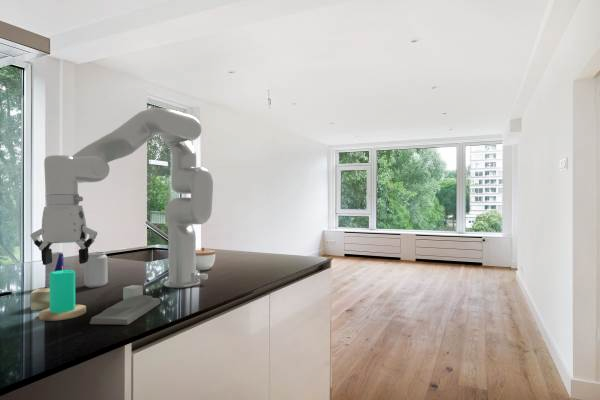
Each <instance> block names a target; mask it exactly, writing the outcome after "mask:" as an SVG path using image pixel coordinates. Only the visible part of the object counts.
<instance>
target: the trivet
mask: <svg viewBox="0 0 600 400" xmlns="http://www.w3.org/2000/svg"><path fill="white" fill-rule="evenodd" d="M86 313H87V306H86V305H83V304H76V303H75V309H74V310H72V311H69V312H63V313H51V312H50V308H48V309H41V310H40V311H39V312H38V319H39V320H40V321H45V322H51V321H52V322H55V321H64V320H70V319H74V318H78V317H80V316H83V315H84V314H86Z"/></svg>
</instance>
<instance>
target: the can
mask: <svg viewBox="0 0 600 400" xmlns="http://www.w3.org/2000/svg"><path fill="white" fill-rule="evenodd" d="M88 255H89V258H88V261H87V262H86V263H83V266H84V267H83V272H84V273H83V275H84V277H83V279H84V280H83V283H84V286H85V287H87V288H100V287H104V286H106V284H108V283H109V279H108V256H107V254H106V251H92V252H88Z"/></svg>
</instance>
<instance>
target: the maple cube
mask: <svg viewBox="0 0 600 400" xmlns="http://www.w3.org/2000/svg"><path fill="white" fill-rule="evenodd" d="M48 308H50V288H47V287H44V288H36V289H35V290H33V291H31V292H30V310H31V311H35V310H45V309H48Z"/></svg>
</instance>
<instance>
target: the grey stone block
mask: <svg viewBox="0 0 600 400" xmlns="http://www.w3.org/2000/svg"><path fill="white" fill-rule="evenodd" d="M143 287H144V286H143V285H136V284H131V285H129V286H124V287H123V288H122V289H123V290H122V292H123V293H122V298H123V300H124V299H126V298H130V297H134V296H139V295H144V292H143V291H144V288H143Z"/></svg>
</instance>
